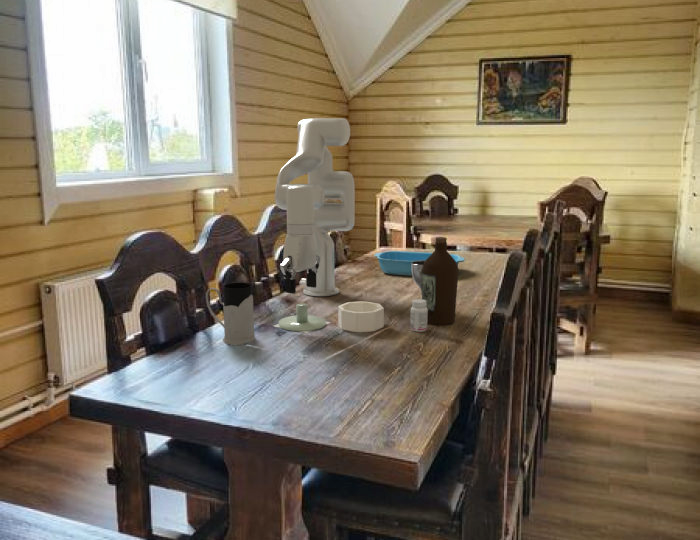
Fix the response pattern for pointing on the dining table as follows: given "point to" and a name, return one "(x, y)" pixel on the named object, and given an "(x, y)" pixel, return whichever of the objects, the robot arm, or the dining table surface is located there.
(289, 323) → the lid
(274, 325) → the mat
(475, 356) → the dining table surface
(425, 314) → the pill bottle
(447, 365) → the dining table surface
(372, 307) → the bowl
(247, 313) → the glass holder
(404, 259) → the casserole dish
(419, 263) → the wine glass
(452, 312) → the olive oil
